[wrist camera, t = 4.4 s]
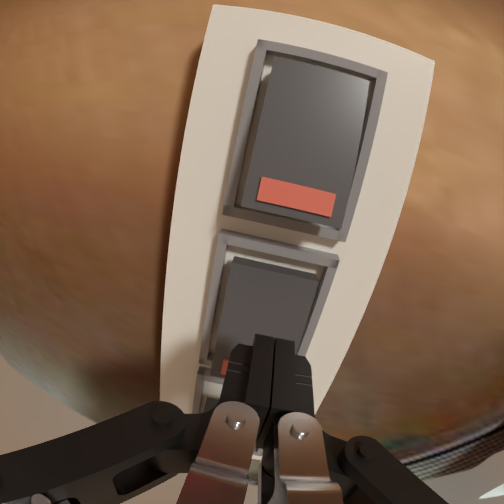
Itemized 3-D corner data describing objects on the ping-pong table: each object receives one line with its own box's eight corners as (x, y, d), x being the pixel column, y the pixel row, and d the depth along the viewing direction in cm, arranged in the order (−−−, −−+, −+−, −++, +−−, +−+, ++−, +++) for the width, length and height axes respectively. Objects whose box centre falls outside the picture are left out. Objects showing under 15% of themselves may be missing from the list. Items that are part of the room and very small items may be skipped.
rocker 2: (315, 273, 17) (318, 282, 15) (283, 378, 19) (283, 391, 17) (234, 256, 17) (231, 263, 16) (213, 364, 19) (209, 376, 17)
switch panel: (414, 69, 15) (441, 59, 12) (286, 439, 28) (286, 469, 24) (223, 21, 15) (210, -1, 12) (168, 415, 28) (157, 443, 24)
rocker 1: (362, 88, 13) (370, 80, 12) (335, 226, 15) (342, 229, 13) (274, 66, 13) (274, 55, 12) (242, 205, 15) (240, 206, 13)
